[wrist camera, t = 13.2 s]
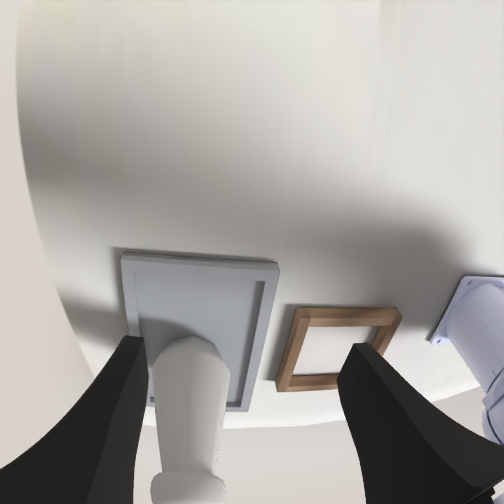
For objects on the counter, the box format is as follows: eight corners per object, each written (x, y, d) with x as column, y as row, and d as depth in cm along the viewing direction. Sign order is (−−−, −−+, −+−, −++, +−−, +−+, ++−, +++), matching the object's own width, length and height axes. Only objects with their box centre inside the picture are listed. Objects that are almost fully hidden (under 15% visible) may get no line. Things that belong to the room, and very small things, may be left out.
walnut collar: (396, 308, 24) (402, 317, 23) (361, 377, 28) (365, 386, 27) (296, 307, 23) (300, 317, 22) (275, 381, 27) (277, 392, 26)
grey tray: (277, 263, 21) (280, 271, 20) (247, 403, 28) (247, 411, 27) (124, 252, 19) (120, 259, 18) (144, 397, 27) (142, 405, 26)
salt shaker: (185, 383, 25) (182, 525, 14) (140, 345, 23) (114, 503, 11) (243, 360, 24) (260, 515, 13) (200, 315, 22) (197, 497, 10)
